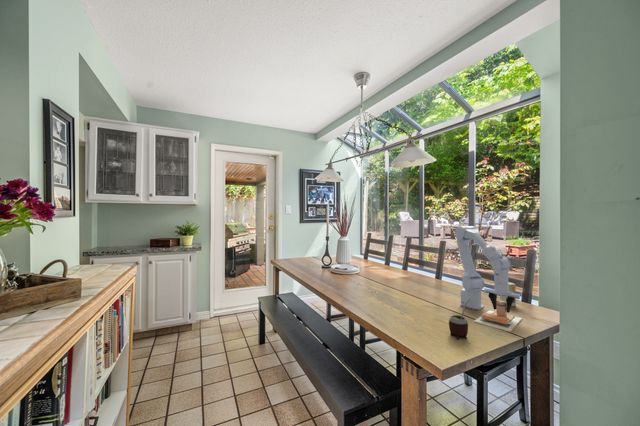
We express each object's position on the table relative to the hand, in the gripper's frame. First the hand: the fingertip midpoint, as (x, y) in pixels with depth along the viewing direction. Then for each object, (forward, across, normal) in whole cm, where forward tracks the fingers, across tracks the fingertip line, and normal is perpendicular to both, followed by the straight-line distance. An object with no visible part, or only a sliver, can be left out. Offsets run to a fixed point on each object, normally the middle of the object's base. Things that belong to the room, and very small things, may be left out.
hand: (501, 310), depth 129 cm
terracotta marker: (+3, 0, 0) cm, 3 cm away
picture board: (+4, 0, -5) cm, 6 cm away
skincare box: (+4, -3, +23) cm, 24 cm away
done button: (+2, 0, -10) cm, 10 cm away
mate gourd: (+4, -6, -35) cm, 36 cm away
